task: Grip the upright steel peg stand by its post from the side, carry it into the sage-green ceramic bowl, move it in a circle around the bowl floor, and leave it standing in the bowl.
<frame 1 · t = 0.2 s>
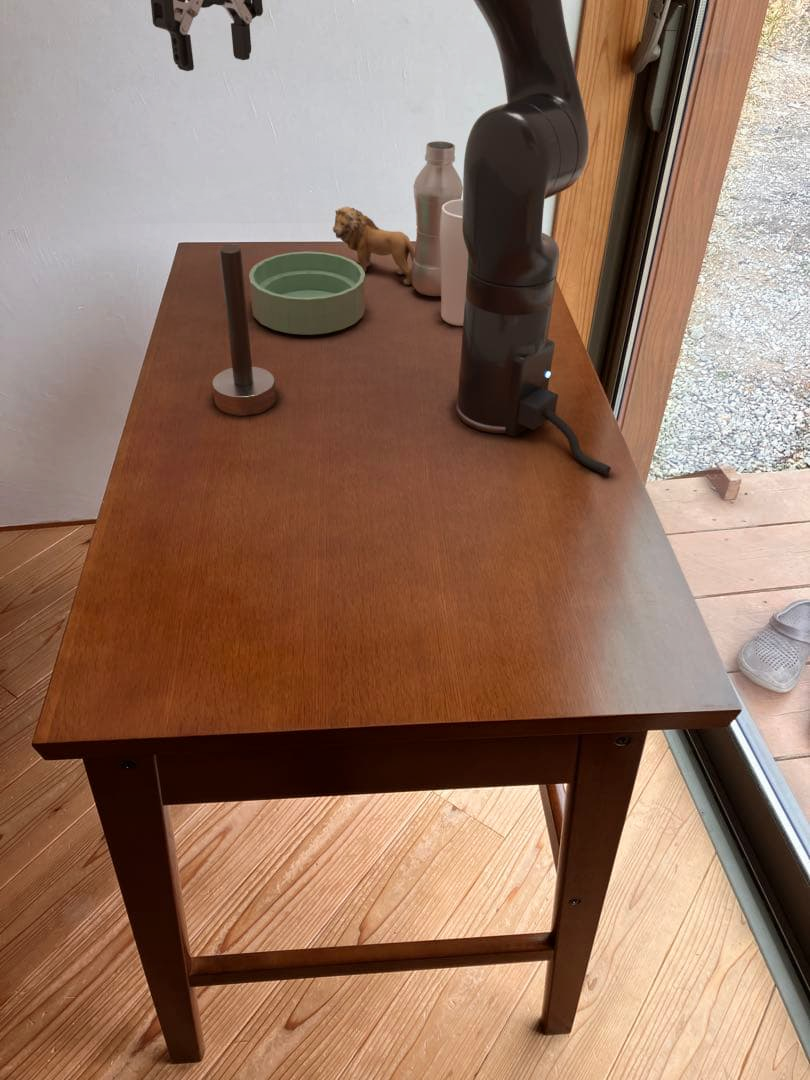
hand: (214, 64, 105), 29 cm above the table, tool pointing down, fingers open, 8 cm apart
bowl: (309, 312, 121), on the table
plastic bottle: (433, 293, 127), on the table
drinking glass: (459, 320, 121), on the table
lion figurine: (377, 275, 131), on the table
peg stand: (245, 399, 103), on the table
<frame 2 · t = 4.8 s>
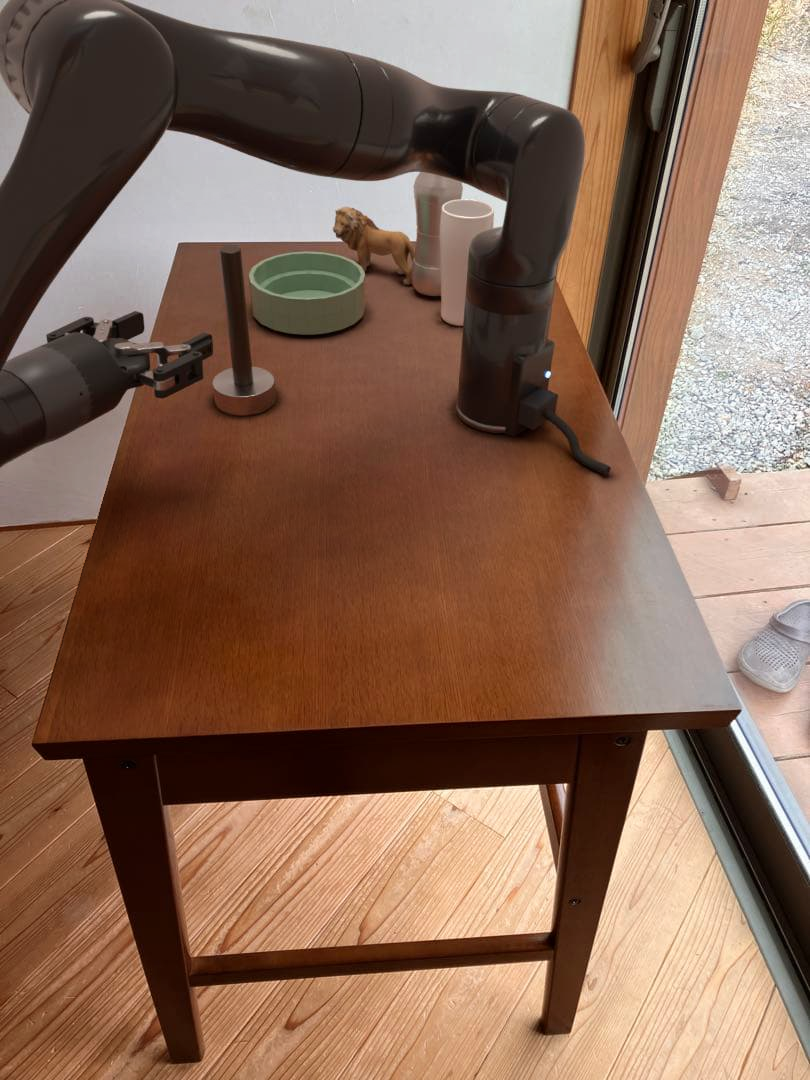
hand: (174, 331, 89), 13 cm above the table, tool horizontal, fingers open, 8 cm apart
nothing on the table moved.
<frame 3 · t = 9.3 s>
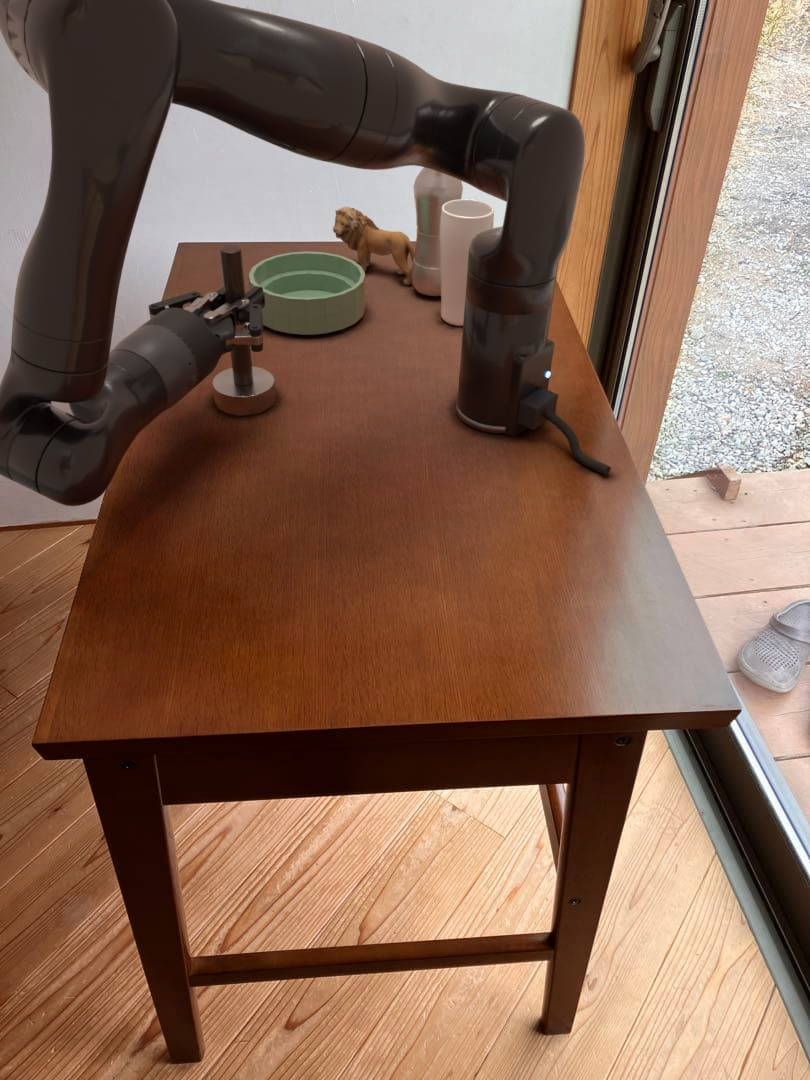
hand: (248, 292, 97), 12 cm above the table, tool horizontal, fingers closed on peg stand
peg stand: (245, 399, 103), on the table, touching gripper
everything else where it was.
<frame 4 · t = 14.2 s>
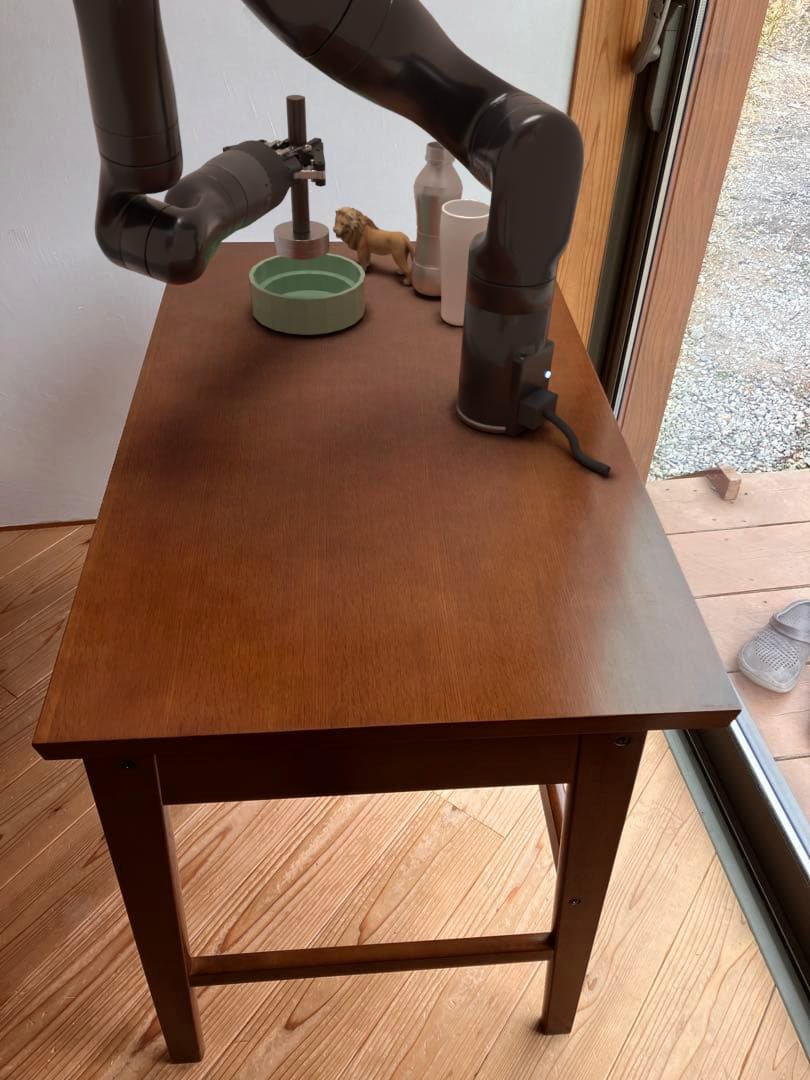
hand: (308, 145, 108), 21 cm above the table, tool horizontal, fingers closed on peg stand
peg stand: (302, 249, 114), point 9 cm above the table, touching gripper
everything else where it was.
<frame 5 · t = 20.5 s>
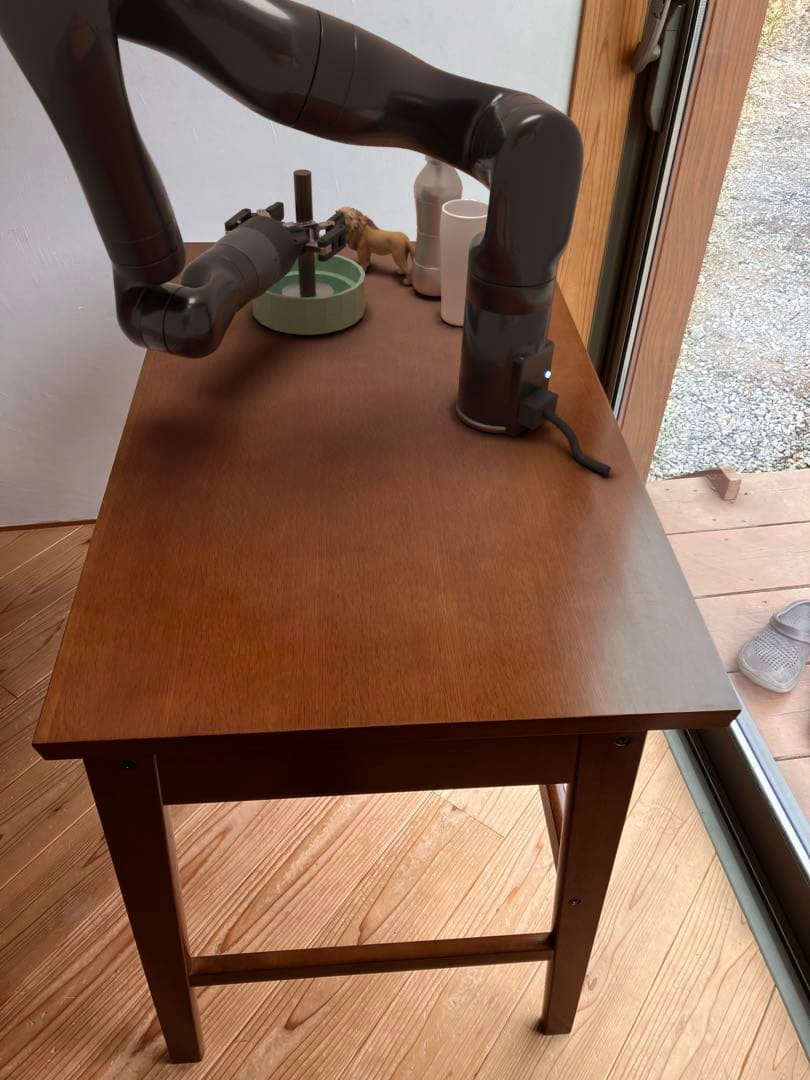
hand: (311, 214, 114), 13 cm above the table, tool horizontal, fingers open, 8 cm apart
peg stand: (308, 308, 120), point 1 cm above the table, touching bowl
everything else where it was.
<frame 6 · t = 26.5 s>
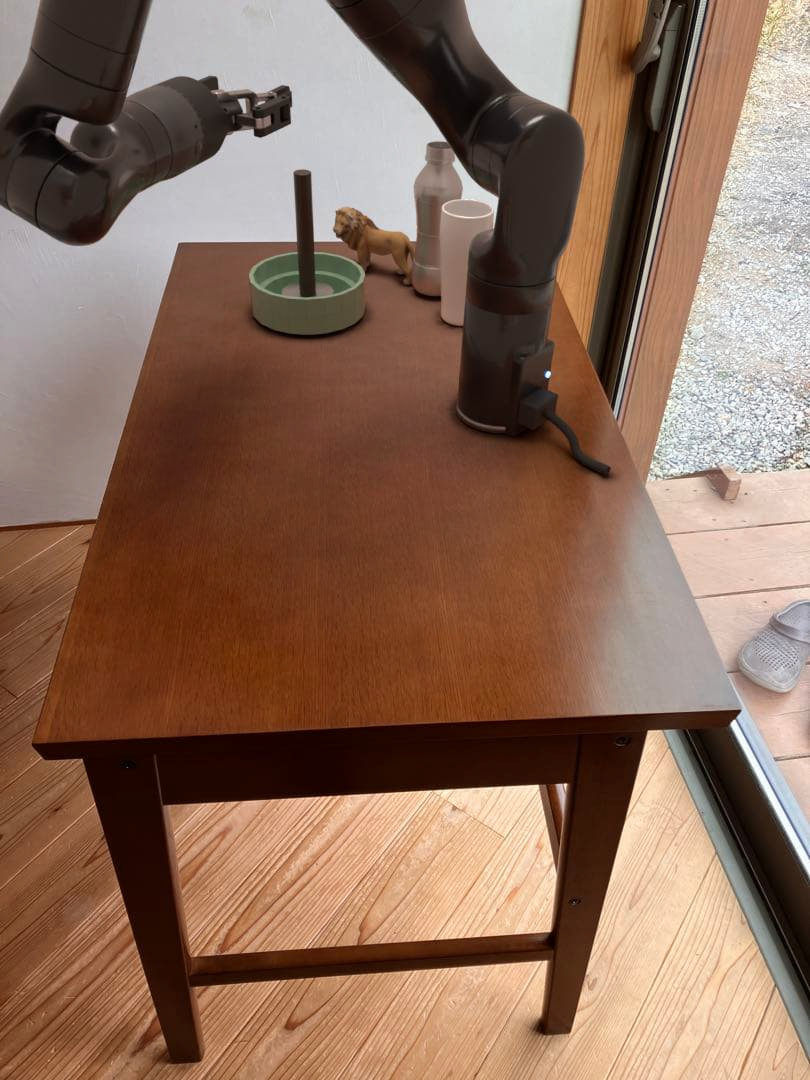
hand: (250, 91, 93), 30 cm above the table, tool horizontal, fingers open, 8 cm apart
nothing on the table moved.
at the end: peg stand 0.1 cm off-centre in the bowl, point 0.6 cm above the bowl's base; peg stand tilted 0°; the gripper is holding nothing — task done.
